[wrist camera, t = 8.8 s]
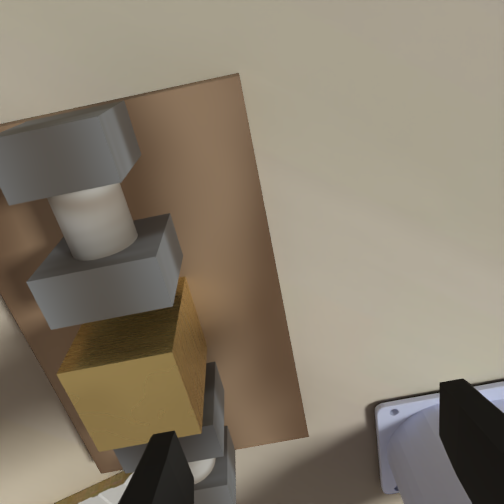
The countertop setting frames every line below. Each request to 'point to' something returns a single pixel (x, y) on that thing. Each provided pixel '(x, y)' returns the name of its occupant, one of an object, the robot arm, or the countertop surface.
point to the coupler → (139, 374)
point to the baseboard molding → (101, 491)
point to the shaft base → (213, 262)
